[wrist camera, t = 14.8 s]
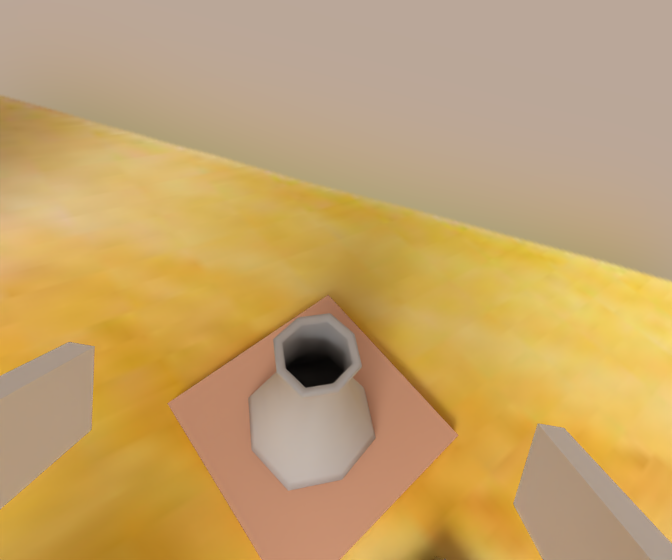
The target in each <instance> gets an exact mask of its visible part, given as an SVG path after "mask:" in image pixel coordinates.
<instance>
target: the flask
mask: <svg viewBox="0 0 672 560" xmlns="http://www.w3.org/2000/svg"><path fill="white" fill-rule="evenodd" d="M273 345H274V354H275V363H276V372H275V373H274V374H273V375H272V376H271V377H270V378H269V379H268V380H267V381H266V382H265V383H264V384H263V385H261V386H260V387H259V388H258V389H257V390H256V391H255V392H254V393H253V394H252V395H251V396H250V397H249V398H248V403H249V418H250V433H251V448H252V451H253V452H254V453H255V454H256V456H257V457H258V458H259V459H260V460H261V461H262V462H263V463H264V464H265V465H266V467H267V468H268V469H269V470H270V471H271V472H272V473H273V474H274V475H275V477H276V478H277V479H278V480H279V481H280V482H281V483H282V484H283V485H284V486H285V488H286V489H287V490H288V491H289V490H294V489H299V488H304V487H309V486H314V485H319V484H324V483H328V482H333V481H338V480H342V479H343V478H344V477H345V475H346V474H347V473H348V472H349V471H350V469H351V468H352V467H353V466H354V464H355V463H356V462H357V461H358V459H359V458H360V457H361V456H362V454H363V453H364V452H365V451H366V449H367V448H368V447H369V446H370V445H371V443H372V442H373V441H374V440H375V438H376V437H375V433H374V428H373V424H372V420H371V415H370V411H369V407H368V402H367V398H366V394H365V389H364V388H363V386H362V385H360V384H359V383H358V382H357V381H356V380H355V379H354V378H353V377H354V375H355V374H356V373H357V372H358V371H359V370H360V369H361V368H362V364H361V360H360V355H359V351H358V347H357V342H356V338H355V334H354V333H353V332H352V331H350V330H349V329H348V328H347V327H346V326H345V325H343V324H342V323H341V322H340V321H339V320H338V319H336V318H335V317H334V316H333V315H332V314H330V313H328V314H320V315H312V316H305V317H298V318H296V319H295V320H294V321H293V322H292V323H291V324H290V325H289V326H287V327H286V328H285V329H284V330H283V331H282V332H281V333H280V334H278V335H277V336H276V337H275V338H274V339H273Z"/></svg>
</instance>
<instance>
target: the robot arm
mask: <svg viewBox="0 0 672 560" xmlns="http://www.w3.org/2000/svg"><path fill="white" fill-rule="evenodd" d="M94 348H95V346H89V345H83V344H78V343H72V342H68V343H66V344H64V345H62V346H60V347H58V348H56V349H54V350H52V351H50V352H48V353H46V354H44V355H42V356H40V357H38V358H36V359H34V360H32V361H30V362H28V363H26V364H23V365H21V366H19V367H17V368H15V369H13V370H11V371H9V372H7V373H5V374H3V375H1V376H0V509H1V508H2V507H3V506H4V505H6V504H7V503H8V502H9V501H10V500H11V499H13V498H14V497H15V496H16V495H17V494H18V493H19V492H21V491H22V490H23V489H24V488H25V487H26V486H27V485H29V484H30V483H31V482H32V481H33V480H34V479H35V478H37V477H38V476H39V475H40V474H41V473H42V472H43V471H45V470H46V469H47V468H48V467H49V466H50V465H52V464H53V463H54V462H55V461H56V460H57V459H58V458H60V457H61V456H62V455H63V454H64V453H65V452H66V451H68V450H69V449H70V448H71V447H72V446H73V445H74V444H76V443H77V442H78V441H79V440H80V439H81V438H82V437H84V436H85V435H86V434H87V433H88V432H89V431H90V430H91V427H92V401H93V375H94ZM513 504H514V506H515V508H516V510H517V512H518V514H519V516H520V517H521V519H522V521H523V523H524V525H525V527H526V529H527V531H528V533H529V534H530V536H531V538H532V540H533V542H534V544H535V546H536V548H537V550H538V551H539V553H540V555H541V557H542V559H543V560H672V544H671V542H670V541H669V540H668V539H667V538H666V537H665V536H664V535H663V534H662V533H661V532H660V531H659V530H658V529H657V527H656V526H655V525H654V524H653V523H652V522H651V521H650V520H649V519H648V518H647V517H646V516H645V515H644V513H643V512H642V511H641V510H640V509H639V508H638V507H637V506H636V505H635V504H634V503H633V502H632V501H631V500H630V498H629V497H628V496H627V495H626V494H625V493H624V492H623V491H622V490H621V489H620V488H619V487H618V486H617V484H616V483H615V482H614V481H613V480H612V479H611V478H610V477H609V476H608V475H607V474H606V473H605V472H604V471H603V469H602V468H601V467H600V466H599V465H598V464H597V463H596V462H595V461H594V460H593V459H592V458H591V457H590V455H589V454H588V453H587V452H586V451H585V450H584V449H583V448H582V447H581V446H580V445H579V444H578V443H577V442H576V440H575V439H574V438H573V437H572V436H571V435H570V434H569V433H568V432H567V431H566V430H565V429H564V428H561V427H555V426H549V425H544V424H537V428H536V431H535V434H534V437H533V441H532V444H531V447H530V451H529V454H528V457H527V461H526V464H525V467H524V470H523V474H522V477H521V480H520V484H519V487H518V490H517V493H516V497H515V500H514V503H513Z"/></svg>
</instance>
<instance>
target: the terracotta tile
mask: <svg viewBox="0 0 672 560" xmlns="http://www.w3.org/2000/svg"><path fill="white" fill-rule="evenodd" d="M328 313H330V314H332V315H333V316H334V317H335V318H336V319H338V320H339V321H340V322H341V323H342V324H343V325H345V326H346V327H347V328H348V329H349V330H350V331H352V332H353V333H354V334H355V338H356V342H357V347H358V351H359V355H360V360H361V364H362V368H361V369H360V370H359V371H358V372H357V373H356V374H355V375H354V377H353V378H354V379H355V380H356V381H357V382H358V383H359V384H360V385H362V386H363V388H364V389H365V394H366V398H367V402H368V407H369V411H370V415H371V420H372V424H373V428H374V433H375V437H376V438H375V440H374V441H373V442H372V443H371V445H370V446H369V447H368V448H367V449H366V451H365V452H364V453H363V454H362V456H361V457H360V458H359V459H358V461H357V462H356V463H355V464H354V466H353V467H352V468H351V469H350V471H349V472H348V473H347V474H346V475H345V477H344V478H343V479H342V480H338V481H333V482H328V483H324V484H319V485H314V486H309V487H304V488H299V489H294V490H289V491H288V490H287V489H286V488H285V486H284V485H283V484H282V483H281V482H280V481H279V480H278V479H277V478H276V477H275V475H274V474H273V473H272V472H271V471H270V470H269V469H268V468H267V467H266V465H265V464H264V463H263V462H262V461H261V460H260V459H259V458H258V457H257V456H256V454H255V453H254V452H253V451H252V448H251V433H250V418H249V403H248V398H249V397H250V396H251V395H252V394H253V393H254V392H255V391H256V390H257V389H258V388H259V387H260V386H261V385H263V384H264V383H265V382H266V381H267V380H268V379H269V378H270V377H271V376H272V375H273V374H274V373H275V372H276V363H275V354H274V345H273V339H274V338H275V337H276V336H277V335H278V334H280V333H281V332H282V331H283V330H284V329H285V328H286V327H287V326H289V325H290V324H291V323H292V322H293V321H294V320H295V319H296V318H298V317H305V316H312V315H320V314H328ZM168 405H169V407H170V408H171V410H172V412H173V413H174V415H175V417H176V418H177V420H178V422H179V423H180V425H181V427H182V428H183V430H184V432H185V433H186V435H187V437H188V438H189V440H190V442H191V443H192V445H193V446H194V448H195V450H196V451H197V453H198V455H199V456H200V458H201V460H202V461H203V463H204V465H205V466H206V468H207V470H208V471H209V473H210V475H211V476H212V478H213V480H214V481H215V483H216V485H217V486H218V488H219V490H220V491H221V493H222V495H223V496H224V498H225V500H226V501H227V503H228V505H229V506H230V508H231V510H232V511H233V513H234V515H235V516H236V518H237V520H238V521H239V523H240V525H241V526H242V528H243V530H244V531H245V533H246V535H247V536H248V538H249V539H250V541H251V543H252V544H253V546H254V548H255V549H256V551H257V553H258V554H259V556H260V558H261V559H262V560H340V559H341V558H342V557H343V556H344V555H345V554H346V552H347V551H348V550H349V549H350V548H351V547H352V546H353V545H354V544H355V543H356V542H357V541H358V540H359V539H360V538H361V537H362V536H363V535H364V534H365V533H366V532H367V530H368V529H369V528H370V527H371V526H372V525H373V524H374V523H375V522H376V521H377V520H378V519H379V518H380V517H381V516H382V515H383V514H384V513H385V512H386V511H387V510H388V508H389V507H390V506H391V505H392V504H393V503H394V502H395V501H396V500H397V499H398V498H399V497H400V496H401V495H402V494H403V493H404V492H405V491H406V490H407V489H408V487H409V486H410V485H411V484H412V483H413V482H414V481H415V480H416V479H417V478H418V477H419V476H420V475H421V474H422V473H423V472H424V471H425V470H426V469H427V468H428V467H429V465H430V464H431V463H432V462H433V461H434V460H435V459H436V458H437V457H438V456H439V455H440V454H441V453H442V452H443V451H444V450H445V449H446V448H447V447H448V446H449V445H450V443H451V442H452V441H453V440H454V439H455V438H456V437H457V436H458V434H457V433H456V432H455V431H454V430H453V429H452V428H451V427H450V426H449V425H448V424H447V423H446V421H445V420H444V419H443V418H442V417H441V416H440V415H439V414H438V413H437V412H436V411H435V410H434V408H433V407H432V406H431V405H430V404H429V403H428V402H427V401H426V400H425V399H424V398H423V397H422V396H421V394H420V393H419V392H418V391H417V390H416V389H415V388H414V387H413V386H412V385H411V384H410V383H409V382H408V380H407V379H406V378H405V377H404V376H403V375H402V374H401V373H400V372H399V371H398V370H397V369H396V367H395V366H394V365H393V364H392V363H391V362H390V361H389V360H388V359H387V358H386V357H385V356H384V355H383V353H382V352H381V351H380V350H379V349H378V348H377V347H376V346H375V345H374V344H373V343H372V342H371V340H370V339H369V338H368V337H367V336H366V335H365V334H364V333H363V332H362V331H361V330H360V329H359V328H358V326H357V325H356V324H355V323H354V322H353V321H352V320H351V319H350V318H349V317H348V316H347V315H346V314H345V312H344V311H343V310H342V309H341V308H340V307H339V306H338V305H337V304H336V303H335V302H334V301H333V299H332V298H331V297H330V296H329V295H327V296H326V297H324V298H323V299H321V300H320V301H318V302H317V303H315V304H314V305H312V306H311V307H309V308H308V309H306V310H305V311H304V312H302V313H301V314H299V315H298V316H296V317H295V318H293V319H292V320H290V321H289V322H287V323H286V324H284V325H283V326H281V327H280V328H278V329H277V330H275V331H274V332H272V333H271V334H269V335H268V336H267V337H265V338H264V339H262V340H261V341H259V342H258V343H256V344H255V345H253V346H252V347H250V348H249V349H247V350H246V351H244V352H243V353H241V354H240V355H238V356H237V357H235V358H234V359H232V360H231V361H229V362H228V363H227V364H225V365H224V366H222V367H221V368H219V369H218V370H216V371H215V372H213V373H212V374H210V375H209V376H207V377H206V378H204V379H203V380H201V381H200V382H198V383H197V384H195V385H194V386H192V387H191V388H189V389H188V390H187V391H185V392H184V393H182V394H181V395H179V396H178V397H176V398H175V399H173V400H172V401H170V402H169V403H168Z"/></svg>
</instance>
